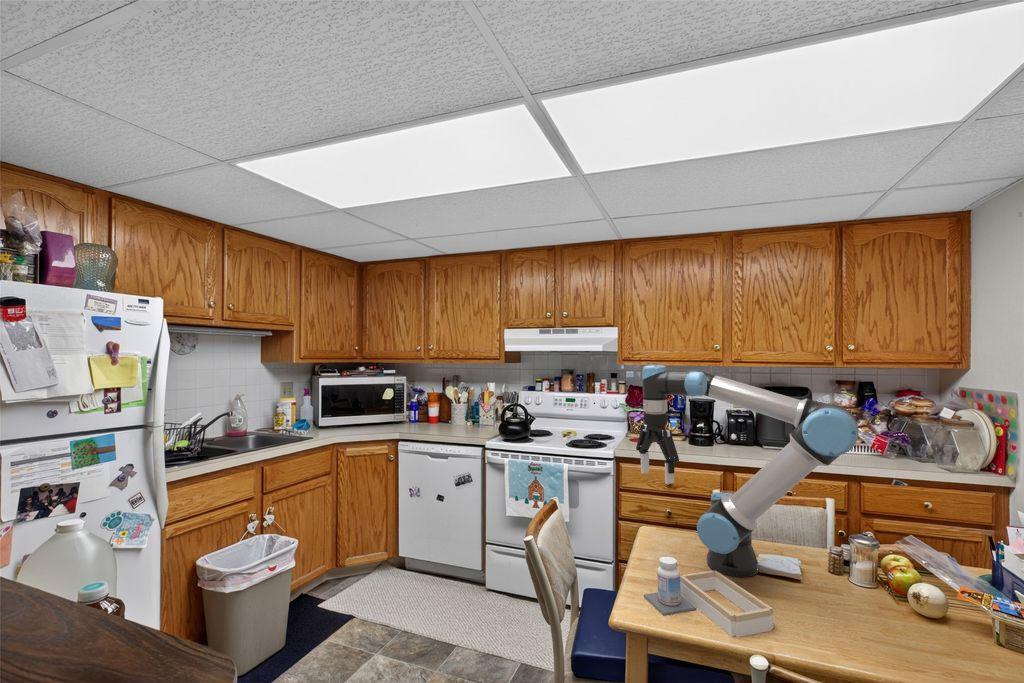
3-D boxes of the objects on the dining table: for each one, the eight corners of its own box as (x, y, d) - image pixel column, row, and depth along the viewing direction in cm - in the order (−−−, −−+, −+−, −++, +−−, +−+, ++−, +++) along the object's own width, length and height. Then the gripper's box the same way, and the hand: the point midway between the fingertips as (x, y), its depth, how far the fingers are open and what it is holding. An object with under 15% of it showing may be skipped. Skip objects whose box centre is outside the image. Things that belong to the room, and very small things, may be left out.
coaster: (674, 591, 137) (674, 589, 137) (696, 609, 127) (696, 607, 127) (643, 596, 134) (643, 594, 134) (663, 615, 125) (663, 613, 125)
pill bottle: (680, 597, 133) (679, 556, 133) (680, 608, 127) (679, 566, 127) (658, 593, 135) (657, 554, 135) (657, 604, 129) (656, 563, 129)
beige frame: (715, 586, 139) (715, 569, 139) (775, 629, 118) (774, 609, 118) (678, 592, 136) (678, 575, 136) (733, 638, 115) (732, 617, 115)
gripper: (625, 409, 165) (626, 470, 164) (668, 418, 141) (670, 489, 141) (643, 407, 167) (645, 468, 167) (689, 416, 143) (691, 486, 143)
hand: (656, 478), depth 154 cm, fingers open, 13 cm apart
